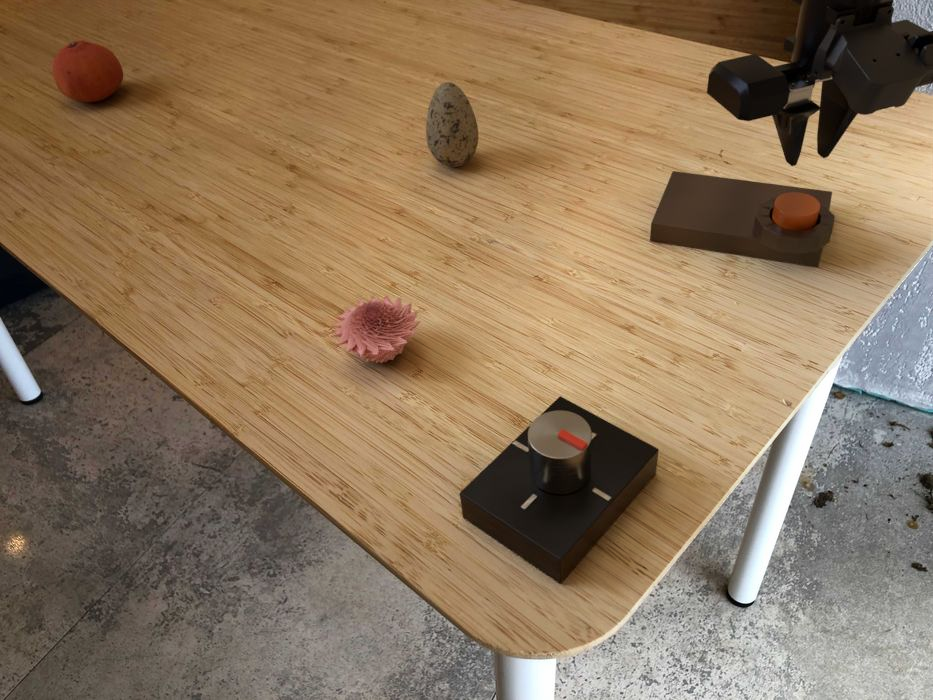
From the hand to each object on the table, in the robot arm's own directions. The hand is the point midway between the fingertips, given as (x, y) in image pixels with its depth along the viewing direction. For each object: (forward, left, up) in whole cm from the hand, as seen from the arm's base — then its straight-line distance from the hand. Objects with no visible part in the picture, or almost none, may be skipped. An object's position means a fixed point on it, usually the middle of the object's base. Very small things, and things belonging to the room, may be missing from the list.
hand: (806, 159), depth 76 cm
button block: (+5, -3, -10) cm, 12 cm away
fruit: (+95, -11, -10) cm, 96 cm away
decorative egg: (+38, -7, -10) cm, 40 cm away
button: (0, 0, -6) cm, 6 cm away
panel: (+12, +35, -10) cm, 38 cm away
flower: (+32, +25, -10) cm, 42 cm away
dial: (+12, +35, -7) cm, 38 cm away
